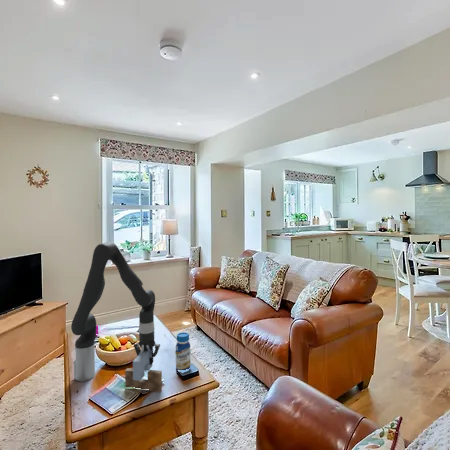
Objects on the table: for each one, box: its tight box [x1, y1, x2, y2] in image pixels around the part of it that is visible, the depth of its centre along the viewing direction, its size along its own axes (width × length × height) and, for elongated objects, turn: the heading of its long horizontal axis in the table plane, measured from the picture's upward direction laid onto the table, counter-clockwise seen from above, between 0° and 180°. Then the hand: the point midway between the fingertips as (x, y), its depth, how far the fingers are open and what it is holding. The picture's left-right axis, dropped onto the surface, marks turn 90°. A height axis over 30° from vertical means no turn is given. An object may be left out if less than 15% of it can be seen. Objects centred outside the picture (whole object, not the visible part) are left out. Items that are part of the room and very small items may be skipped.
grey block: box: [132, 351, 153, 381], centre depth 142 cm, size 4×14×9 cm, turn 170°
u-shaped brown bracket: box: [124, 367, 163, 393], centre depth 142 cm, size 18×2×9 cm, turn 81°
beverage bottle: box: [175, 331, 192, 371], centre depth 159 cm, size 8×8×20 cm
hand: (147, 363), depth 146 cm, fingers closed on grey block, 3 cm apart
